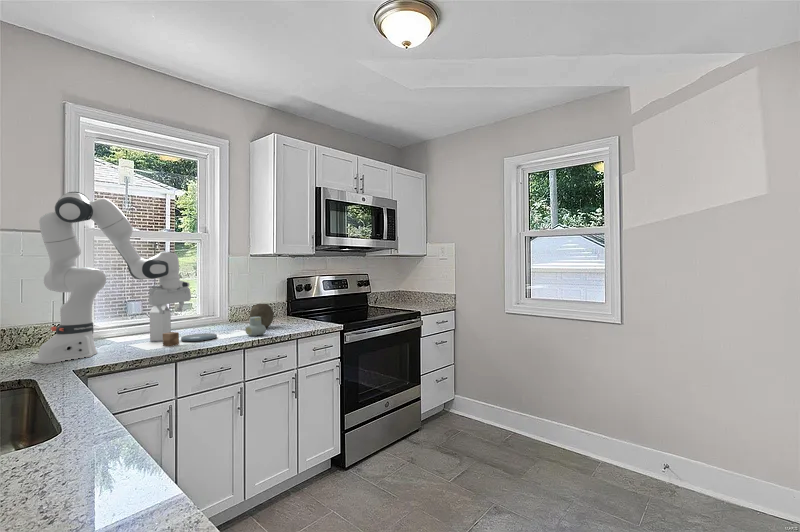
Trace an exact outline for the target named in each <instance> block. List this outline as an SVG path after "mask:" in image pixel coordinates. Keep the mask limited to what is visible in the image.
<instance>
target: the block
mask: <svg viewBox="0 0 800 532" xmlns="http://www.w3.org/2000/svg"><path fill="white" fill-rule="evenodd" d="M178 344H179V345H180V333H179V332H177V331H171V332H169V333H163V341H162V346H163V347H174V346H178ZM173 345H174V346H173Z"/></svg>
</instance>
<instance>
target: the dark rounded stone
mask: <svg viewBox="0 0 800 532" xmlns="http://www.w3.org/2000/svg"><path fill="white" fill-rule="evenodd" d="M250 317H261V324H262V325H264V326H265V327H266V329H268V328H269V327H270V326H271V325H272V324H273V323H272V322H273V320H274V317H275V316H274V311H273V309H272V307H271V306H270V304H268V303H257V304H254V305H253V306H252V308H251V310H250V311H249V318H250Z"/></svg>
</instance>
